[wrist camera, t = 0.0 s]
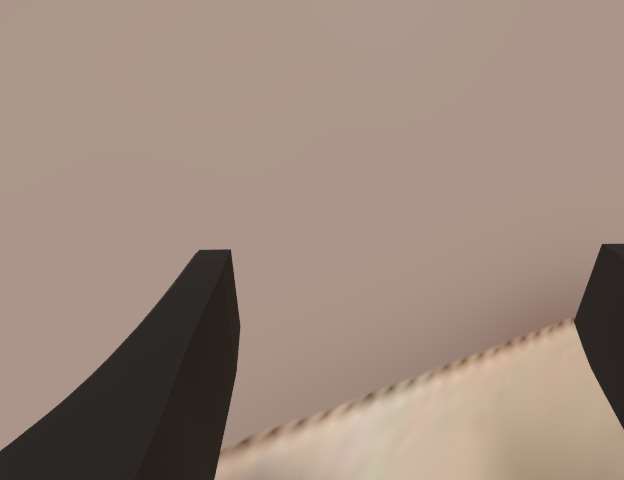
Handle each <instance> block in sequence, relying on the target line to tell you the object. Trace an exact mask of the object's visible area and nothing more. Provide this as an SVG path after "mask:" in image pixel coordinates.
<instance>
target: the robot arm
mask: <svg viewBox="0 0 624 480" xmlns="http://www.w3.org/2000/svg"><path fill="white" fill-rule="evenodd" d="M574 323H575V326H576V329H577V332H578V335H579V337H580V340H581V343H582V346H583V349H584V351H585V354H586V357H587V359H588V362H589V364H590V367H591V369H592V371H593V373H594V375H595V377H596V379H597V381H598V382H599V384H600V386H601V388H602V390H603V392H604V394H605V396H606V398H607V399H608V401H609V403H610V405H611V407H612V409H613V411H614V412H615V414H616V416H617V418H618V420H619V422H620V423H621V425H622V427H623V429H624V244H602V246H601V248H600V251H599V254H598V257H597V259H596V262H595V265H594V268H593V271H592V273H591V276H590V279H589V282H588V284H587V287H586V290H585V293H584V296H583V298H582V301H581V304H580V306H579V309H578V312H577V315H576V317H575V320H574ZM239 336H240V320H239V312H238V304H237V296H236V288H235V280H234V272H233V264H232V255H231V250H199V251H198V252H197V253H196V254H195V255H194V256H193V258H192V259H191V260H190V262H189V263H188V264H187V266H186V267H185V268H184V270H183V271H182V272H181V274H180V275H179V276H178V278H177V279H176V280H175V282H174V283H173V284H172V286H171V287H170V288H169V289H168V291H167V292H166V293H165V294H164V296H163V297H162V298H161V299H160V301H159V302H158V303H157V304H156V305H155V307H154V308H153V309H152V310H151V312H150V313H149V314H148V315H147V316H146V317H145V319H144V320H143V321H142V322H141V323H140V324H139V326H138V327H137V328H136V329H135V330H134V331H133V332H132V333H131V334H130V335H129V337H128V338H127V339H126V340H125V341H124V342H123V343H122V344H121V345H120V346H119V347H118V348H117V349H116V350H115V352H114V353H113V354H112V355H111V356H110V357H109V358H108V359H107V360H106V361H105V362H104V363H103V364H102V365H101V366H100V367H99V368H98V369H97V370H96V371H95V372H94V373H93V374H92V375H91V376H90V377H89V378H88V379H87V380H85V381H84V382H83V383H82V384H81V385H80V386H79V387H78V388H77V389H76V390H75V391H74V392H73V393H71V394H70V395H69V396H68V397H67V398H66V399H65V400H63V401H62V402H61V403H60V404H59V405H58V406H56V407H55V408H54V409H53V410H52V411H50V412H49V413H48V414H47V415H46V416H44V417H43V418H42V419H41V420H39V421H38V422H37V423H36V424H34V425H33V426H32V427H30V428H29V429H28V430H27V431H25V432H24V433H23V434H22V435H20V436H19V437H18V438H17V439H15V440H14V441H13V442H12V443H10V444H9V445H8V446H6V447H5V448H4V449H2V450H1V451H0V480H214V478H215V473H216V468H217V464H218V459H219V454H220V449H221V444H222V439H223V435H224V430H225V425H226V420H227V416H228V411H229V406H230V401H231V396H232V391H233V386H234V382H235V376H236V371H237V360H238V347H239Z"/></svg>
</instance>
